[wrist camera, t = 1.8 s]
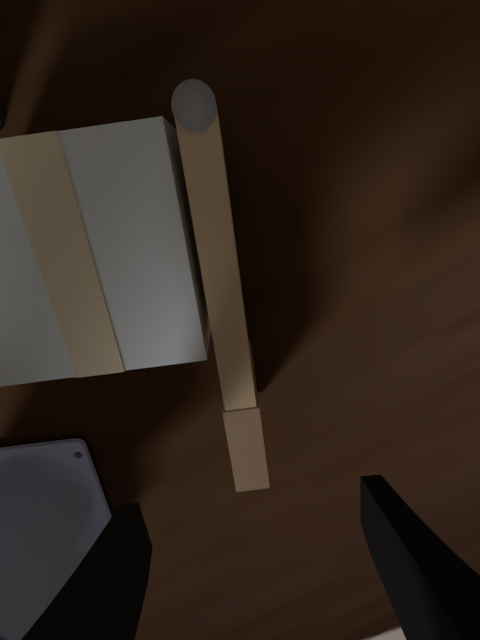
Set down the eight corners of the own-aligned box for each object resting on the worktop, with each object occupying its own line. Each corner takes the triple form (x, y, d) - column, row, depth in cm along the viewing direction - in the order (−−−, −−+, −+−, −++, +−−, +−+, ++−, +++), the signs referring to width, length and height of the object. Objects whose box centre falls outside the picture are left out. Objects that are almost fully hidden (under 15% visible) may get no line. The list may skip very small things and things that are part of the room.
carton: (213, 307, 19) (206, 361, 13) (66, 326, 19) (-6, 388, 13) (186, 140, 16) (161, 115, 10) (12, 165, 16) (-109, 154, 10)
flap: (257, 398, 21) (270, 493, 14) (234, 401, 21) (236, 496, 14) (221, 120, 16) (216, 75, 9) (190, 124, 16) (163, 82, 9)
